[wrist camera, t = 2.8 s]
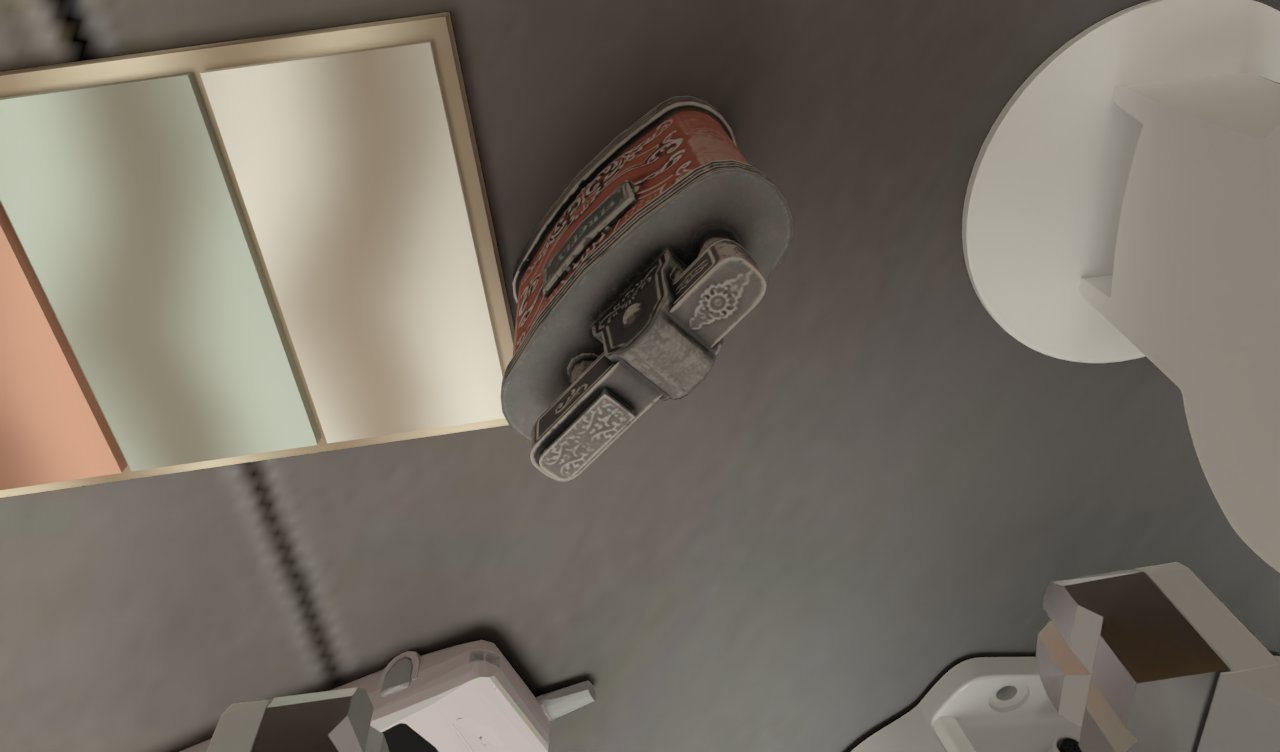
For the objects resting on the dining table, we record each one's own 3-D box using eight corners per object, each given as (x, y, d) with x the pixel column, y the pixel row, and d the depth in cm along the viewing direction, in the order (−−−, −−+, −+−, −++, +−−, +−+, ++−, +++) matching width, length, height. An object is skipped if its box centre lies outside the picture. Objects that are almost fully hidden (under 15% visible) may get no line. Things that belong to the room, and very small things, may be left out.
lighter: (673, 66, 24) (742, 165, 15) (757, 149, 25) (865, 284, 17) (487, 274, 26) (454, 462, 18) (572, 340, 28) (580, 546, 19)
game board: (449, 12, 23) (443, 18, 22) (529, 406, 29) (529, 428, 27) (-516, 140, 22) (-579, 154, 21) (-235, 515, 28) (-270, 543, 27)
